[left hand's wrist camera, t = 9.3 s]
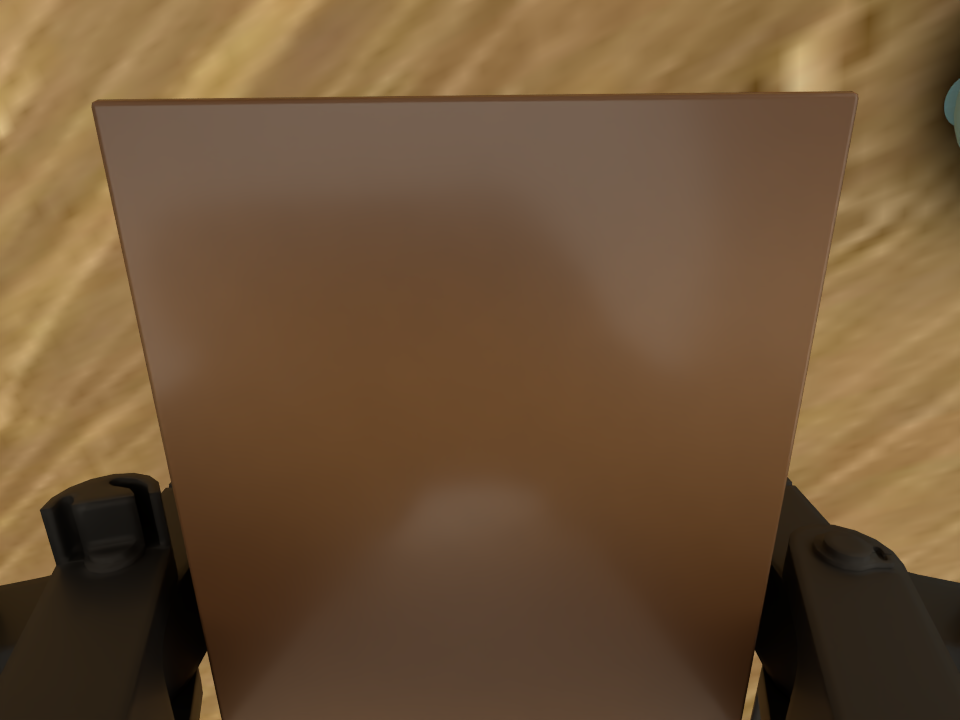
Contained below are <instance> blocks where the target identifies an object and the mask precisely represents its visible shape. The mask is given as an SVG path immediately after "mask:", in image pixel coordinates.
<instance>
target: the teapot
mask: <svg viewBox="0 0 960 720" xmlns="http://www.w3.org/2000/svg"><path fill="white" fill-rule="evenodd" d="M944 112H945V116H946V118H947V120H948V121H949V122H950V123H951V124H952V125H954V128H955V134H956V138H957V143H958V145H959V147H960V79H958V80H957V81H956V82H955V83H954V84H953V85H952V87H951V88H950V90H949V91H948V93H947V96H946V98H945V103H944Z"/></svg>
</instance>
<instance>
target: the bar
mask: <svg viewBox="0 0 960 720" xmlns="http://www.w3.org/2000/svg"><path fill="white" fill-rule="evenodd" d="M857 104H858V94H856V93H854V92H852V91H835V92H745V93H655V94H565V95H475V96H384V97H294V98H204V99H114V100H96V101H94V102H93V103H92V111H93V116H94V121H95V126H96V130H97V135H98V140H99V144H100V149H101V154H102V158H103V163H104V168H105V173H106V177H107V182H108V187H109V191H110V196H111V201H112V206H113V210H114V215H115V220H116V224H117V229H118V234H119V238H120V243H121V248H122V253H123V257H124V262H125V267H126V271H127V276H128V281H129V285H130V290H131V295H132V300H133V304H134V309H135V314H136V318H137V323H138V328H139V333H140V337H141V342H142V347H143V351H144V356H145V361H146V365H147V370H148V375H149V380H150V384H151V389H152V394H153V398H154V403H155V408H156V412H157V417H158V422H159V427H160V431H161V436H162V441H163V445H164V450H165V455H166V460H167V464H168V469H169V474H170V478H171V483H172V488H173V492H174V497H175V502H176V507H177V511H178V516H179V521H180V525H181V530H182V535H183V539H184V544H185V549H186V554H187V558H188V563H189V568H190V572H191V577H192V582H193V587H194V591H195V596H196V601H197V605H198V610H199V615H200V619H201V624H202V629H203V634H204V638H205V643H206V648H207V652H208V657H209V662H210V666H211V671H212V676H213V681H214V685H215V690H216V695H217V699H218V704H219V709H220V714H221V718H222V720H742V715H743V709H744V704H745V699H746V693H747V688H748V683H749V677H750V672H751V667H752V661H753V656H754V651H755V645H756V640H757V635H758V630H759V624H760V619H761V614H762V608H763V603H764V598H765V592H766V587H767V582H768V576H769V571H770V566H771V560H772V555H773V550H774V545H775V539H776V534H777V529H778V523H779V518H780V513H781V507H782V502H783V497H784V491H785V486H786V481H787V475H788V470H789V465H790V460H791V454H792V449H793V444H794V438H795V433H796V428H797V422H798V417H799V412H800V406H801V401H802V396H803V390H804V385H805V380H806V375H807V369H808V364H809V359H810V353H811V348H812V343H813V337H814V332H815V327H816V321H817V316H818V311H819V305H820V300H821V295H822V290H823V284H824V279H825V274H826V268H827V263H828V258H829V252H830V247H831V242H832V236H833V231H834V226H835V220H836V215H837V210H838V205H839V199H840V194H841V189H842V183H843V178H844V173H845V167H846V162H847V157H848V151H849V146H850V141H851V135H852V130H853V125H854V120H855V114H856V109H857Z"/></svg>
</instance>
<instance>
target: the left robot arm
mask: <svg viewBox="0 0 960 720" xmlns="http://www.w3.org/2000/svg"><path fill="white" fill-rule="evenodd" d="M40 512H41V515H42V519H43V522H44V525H45V529H46V532H47V535H48V539H49V542H50V545H51V549H52V552H53V555H54V559H55V562H56V567H55V569H54V571H53V573H52V575H50V576H46V577H42V578H37V579H32V580H27V581H22V582H17V583H12V584H7V585H2V586H0V720H199V718H200V711H201V703H202V695H203V691H202V683H201V678H200V673H199V668H198V667H199V665H200V663H201V661H202V659H203V657H204V655H205V653H206V652H207V648H206V643H205V638H204V634H203V629H202V624H201V619H200V615H199V610H198V605H197V601H196V596H195V591H194V587H193V582H192V577H191V572H190V568H189V563H188V558H187V554H186V549H185V544H184V539H183V535H182V530H181V525H180V521H179V516H178V511H177V507H176V502H175V497H174V492H173V488H172V483H170V484H169V488H165V490H164V491H163V492H162V493H161V491H160V487H159V482H158V481H156V480H155V479H153V478H152V477H151V476H148V475H142V474H137V473H126V474H112V475H108V476H103V477H99V478H94V479H90V480H88V481H85V482H83V483H80V484H77V485H75V486H72V487H70V488H68V489H66V490H64V491H63V492H61V493H59V494H58V495H56V496H54V497H53V498H51V499H50V500H49V501H48V502H47V503H46V504H45V505H44V506H43V507H42V508H41V509H40ZM755 651H756V653H757V655H758V657H759V659H760V661H761V662H762V668H761V673H760V678H759V682H758V687H757V692H756V696H755V701H754V706H753V710H752V715H751V720H960V583H957V582H952V581H947V580H942V579H937V578H932V577H927V576H922V575H917V574H914V573H910V572H907V570H906V568H905V566H904V564H903V563H902V562H901V561H900V559H899V558H898V557H897V556H896V555H895V553H894V552H893V551H892V550H890V549H889V548H887V547H886V546H884V545H883V544H881V543H880V542H879V541H877V540H876V539H873V538H871V537H869V536H867V535H864V534H862V533H860V532H858V531H855V530H851V529H848V528H844V527H840V526H836V525H830V524H829V523H828V522H827V520H826V519H825V518H824V517H823V516H822V515H821V514H820V513H819V512H818V510H817V509H816V508H815V507H814V506H813V505H812V504H811V503H810V502H809V501H808V499H807V498H806V497H805V496H804V495H803V494H802V493H801V492H800V491H799V489H798V488H797V487H796V486H792V482H791V481H790V479H789V478H788V477H787V481H786V486H785V491H784V497H783V502H782V507H781V513H780V518H779V523H778V529H777V534H776V539H775V545H774V550H773V555H772V560H771V566H770V571H769V576H768V582H767V587H766V592H765V598H764V603H763V608H762V614H761V619H760V624H759V630H758V635H757V640H756V645H755Z"/></svg>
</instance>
